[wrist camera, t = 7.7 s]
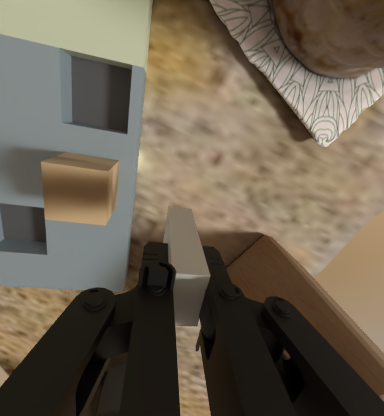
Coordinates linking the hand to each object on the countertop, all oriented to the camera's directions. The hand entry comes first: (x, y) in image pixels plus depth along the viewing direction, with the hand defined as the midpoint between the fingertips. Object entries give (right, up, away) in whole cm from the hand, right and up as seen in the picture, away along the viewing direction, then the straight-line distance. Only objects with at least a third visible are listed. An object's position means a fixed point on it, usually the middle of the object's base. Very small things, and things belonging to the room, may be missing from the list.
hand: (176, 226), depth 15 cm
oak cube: (-9, +4, +8) cm, 13 cm away
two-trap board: (-13, +8, +10) cm, 18 cm away
